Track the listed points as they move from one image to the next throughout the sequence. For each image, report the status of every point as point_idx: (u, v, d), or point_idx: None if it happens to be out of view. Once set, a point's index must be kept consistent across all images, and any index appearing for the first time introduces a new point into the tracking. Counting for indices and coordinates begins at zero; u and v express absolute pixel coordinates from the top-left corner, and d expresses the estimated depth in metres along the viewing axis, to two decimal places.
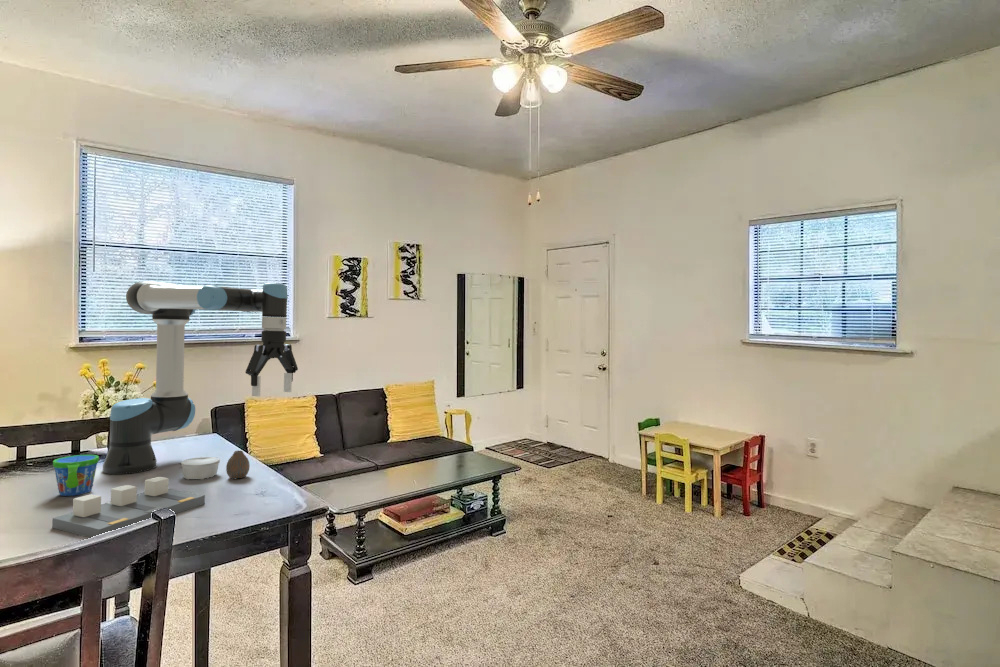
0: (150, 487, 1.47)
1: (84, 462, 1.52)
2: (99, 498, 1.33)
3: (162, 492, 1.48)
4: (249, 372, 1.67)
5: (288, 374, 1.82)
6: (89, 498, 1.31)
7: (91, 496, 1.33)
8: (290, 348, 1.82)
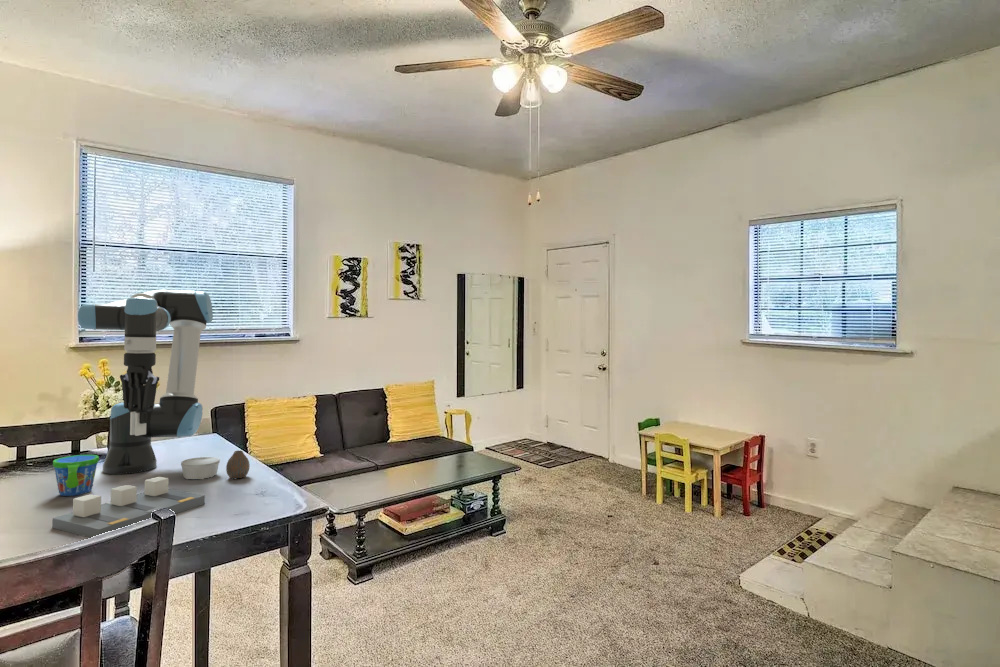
0: (150, 487, 1.47)
1: (84, 462, 1.52)
2: (99, 498, 1.33)
3: (162, 492, 1.48)
4: None
5: None
6: (89, 498, 1.31)
7: (91, 496, 1.33)
8: (149, 382, 1.48)
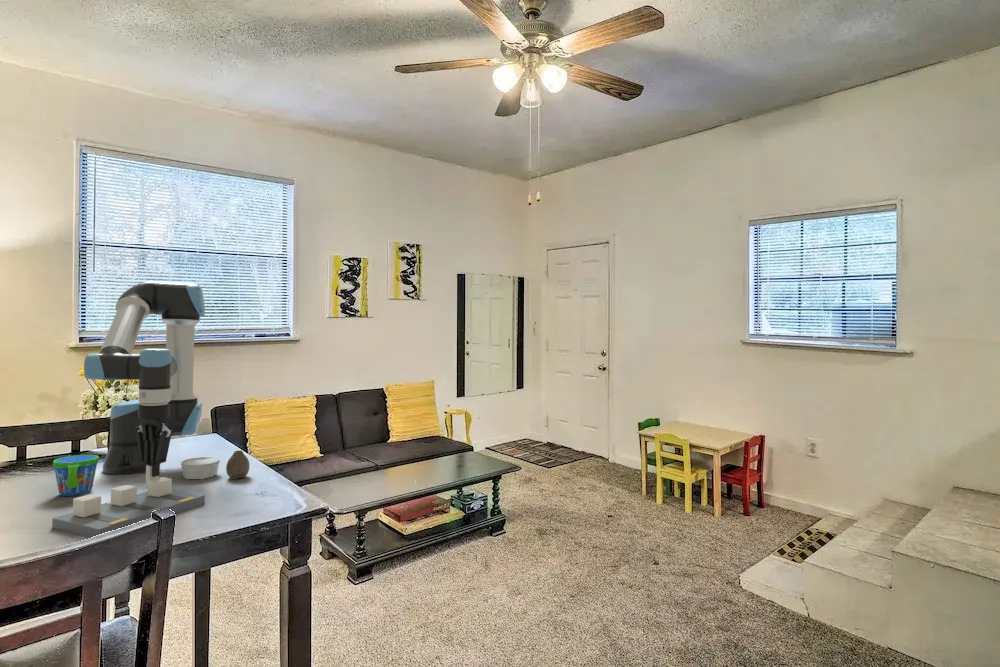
0: (153, 488, 1.46)
1: (84, 462, 1.52)
2: (99, 498, 1.33)
3: (165, 493, 1.48)
4: None
5: None
6: (89, 498, 1.31)
7: (91, 496, 1.33)
8: (163, 435, 1.46)
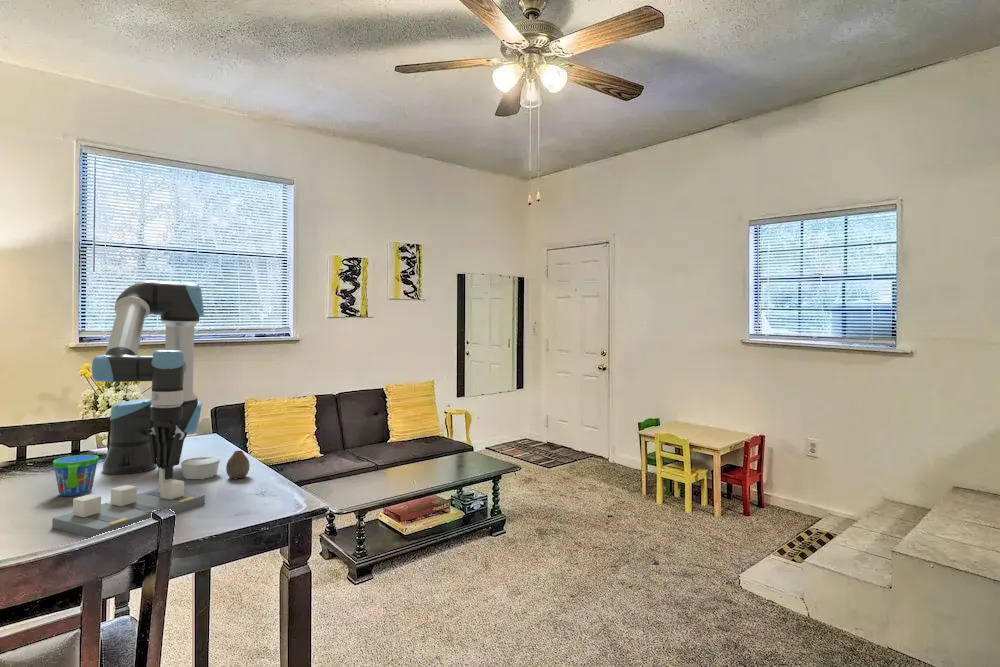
0: (166, 490, 1.45)
1: (84, 462, 1.52)
2: (99, 498, 1.33)
3: (178, 495, 1.46)
4: None
5: None
6: (89, 498, 1.31)
7: (91, 496, 1.33)
8: (176, 438, 1.44)
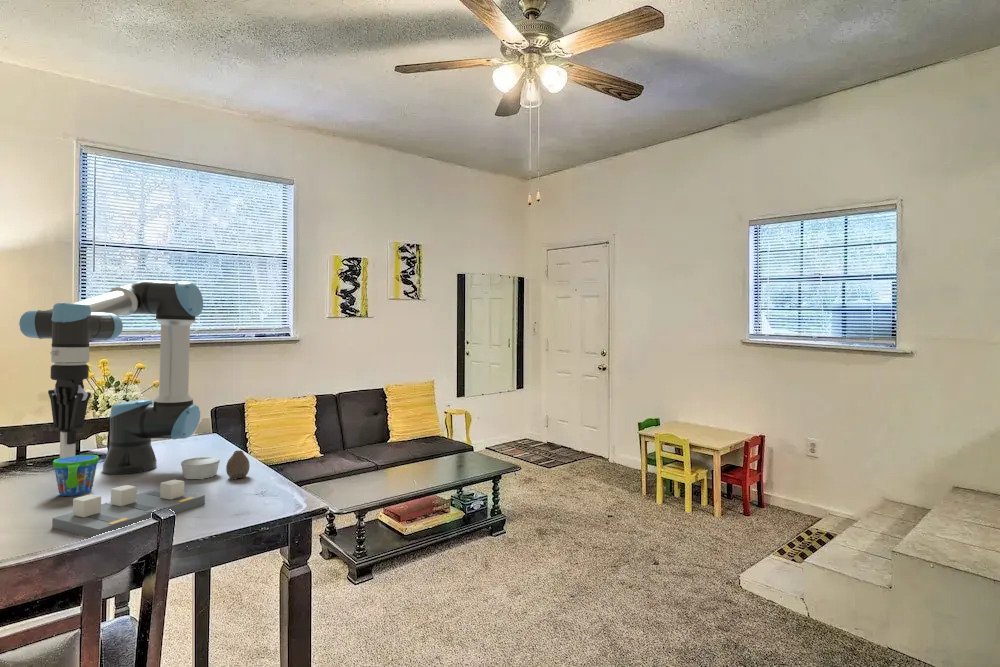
0: (166, 490, 1.45)
1: (84, 462, 1.52)
2: (99, 498, 1.33)
3: (178, 495, 1.46)
4: None
5: None
6: (89, 498, 1.31)
7: (91, 496, 1.33)
8: (78, 398, 1.31)
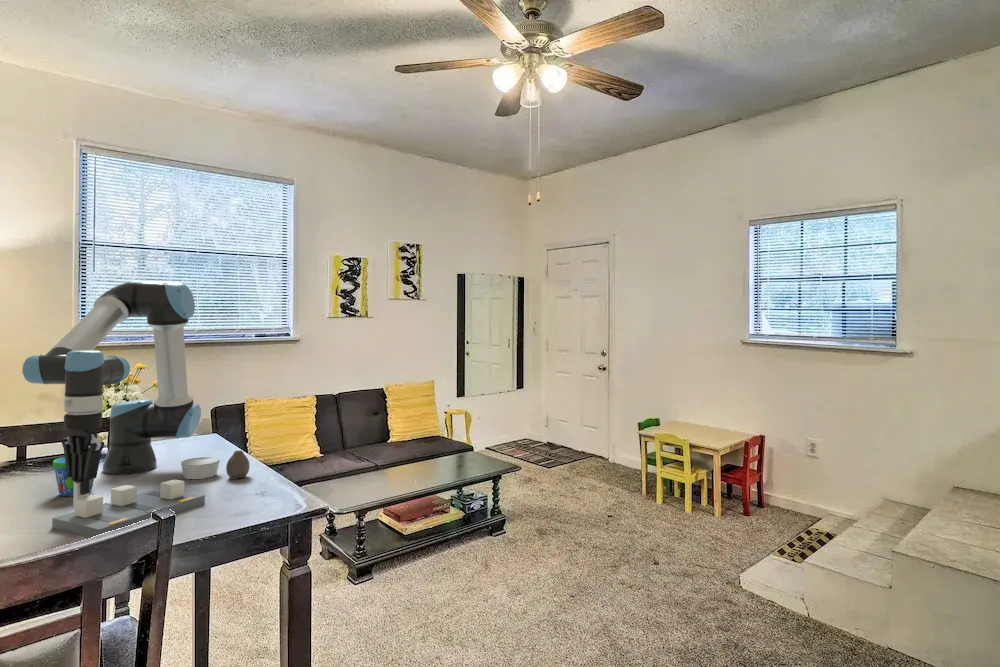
0: (166, 490, 1.45)
1: None
2: (101, 499, 1.33)
3: (178, 495, 1.46)
4: None
5: None
6: (91, 498, 1.31)
7: (93, 496, 1.33)
8: (91, 448, 1.29)
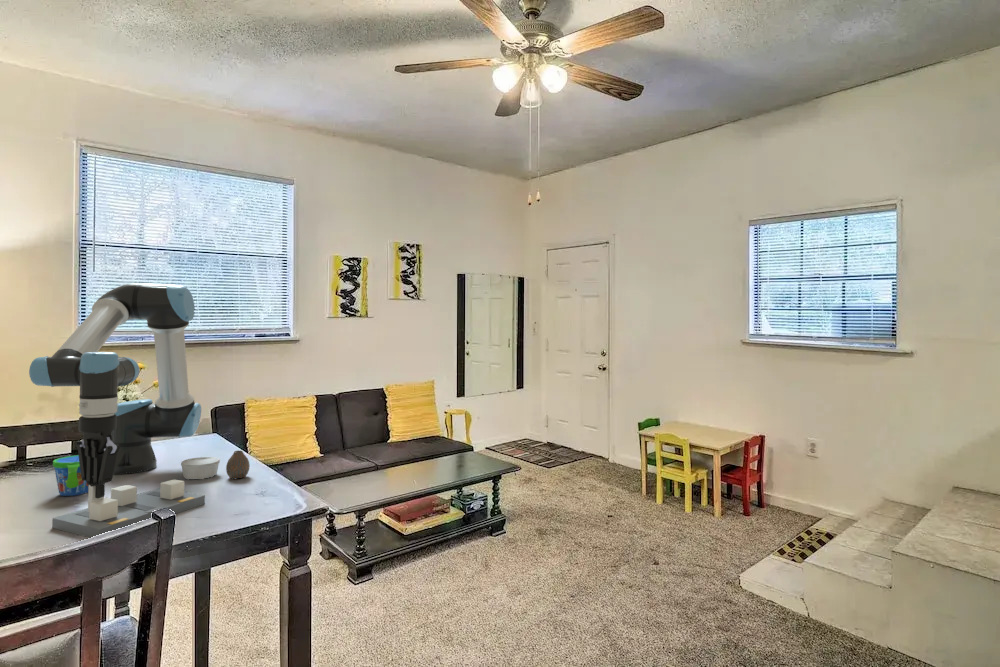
0: (166, 490, 1.45)
1: None
2: (116, 502, 1.31)
3: (178, 495, 1.46)
4: None
5: None
6: (106, 502, 1.29)
7: (107, 499, 1.31)
8: (107, 451, 1.27)
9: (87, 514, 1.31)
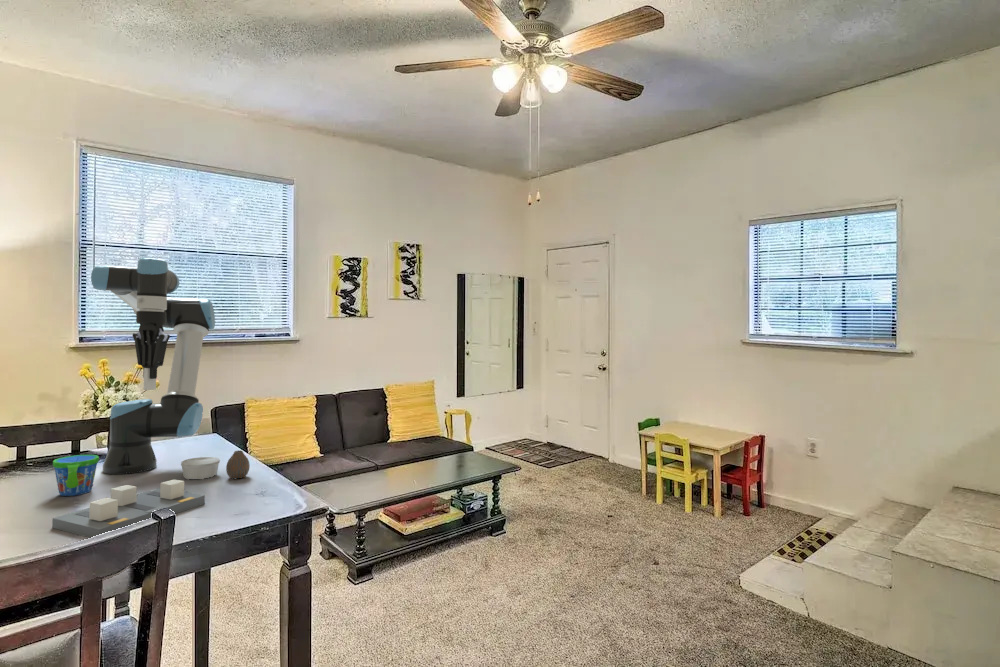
0: (166, 490, 1.45)
1: (84, 462, 1.52)
2: (116, 502, 1.31)
3: (178, 495, 1.46)
4: None
5: None
6: (106, 502, 1.29)
7: (108, 499, 1.31)
8: (160, 339, 1.55)
9: (87, 514, 1.31)
